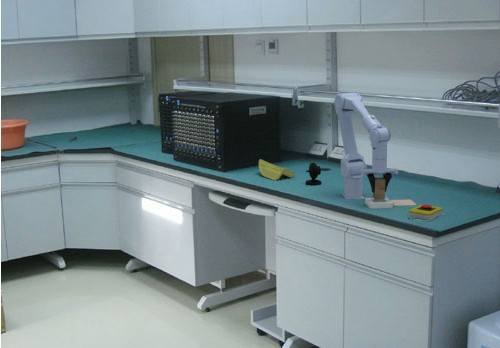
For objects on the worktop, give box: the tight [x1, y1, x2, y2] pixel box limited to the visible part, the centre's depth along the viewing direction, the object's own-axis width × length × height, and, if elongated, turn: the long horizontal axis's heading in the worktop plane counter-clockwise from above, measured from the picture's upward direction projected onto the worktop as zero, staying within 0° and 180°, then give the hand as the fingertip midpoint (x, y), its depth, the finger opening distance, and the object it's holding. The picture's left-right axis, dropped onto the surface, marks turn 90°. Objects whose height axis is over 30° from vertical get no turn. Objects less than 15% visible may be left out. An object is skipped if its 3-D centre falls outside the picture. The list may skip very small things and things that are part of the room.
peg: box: [372, 176, 386, 199], centre depth 271 cm, size 4×4×8 cm
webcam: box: [305, 162, 323, 186], centre depth 315 cm, size 8×8×10 cm
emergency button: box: [407, 204, 445, 222], centre depth 257 cm, size 9×4×15 cm
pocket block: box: [364, 197, 394, 209], centre depth 273 cm, size 9×9×2 cm
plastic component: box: [258, 159, 295, 181], centre depth 335 cm, size 20×7×10 cm
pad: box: [389, 199, 417, 207], centre depth 276 cm, size 9×9×1 cm
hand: (378, 191), depth 272 cm, fingers closed on peg, 4 cm apart
